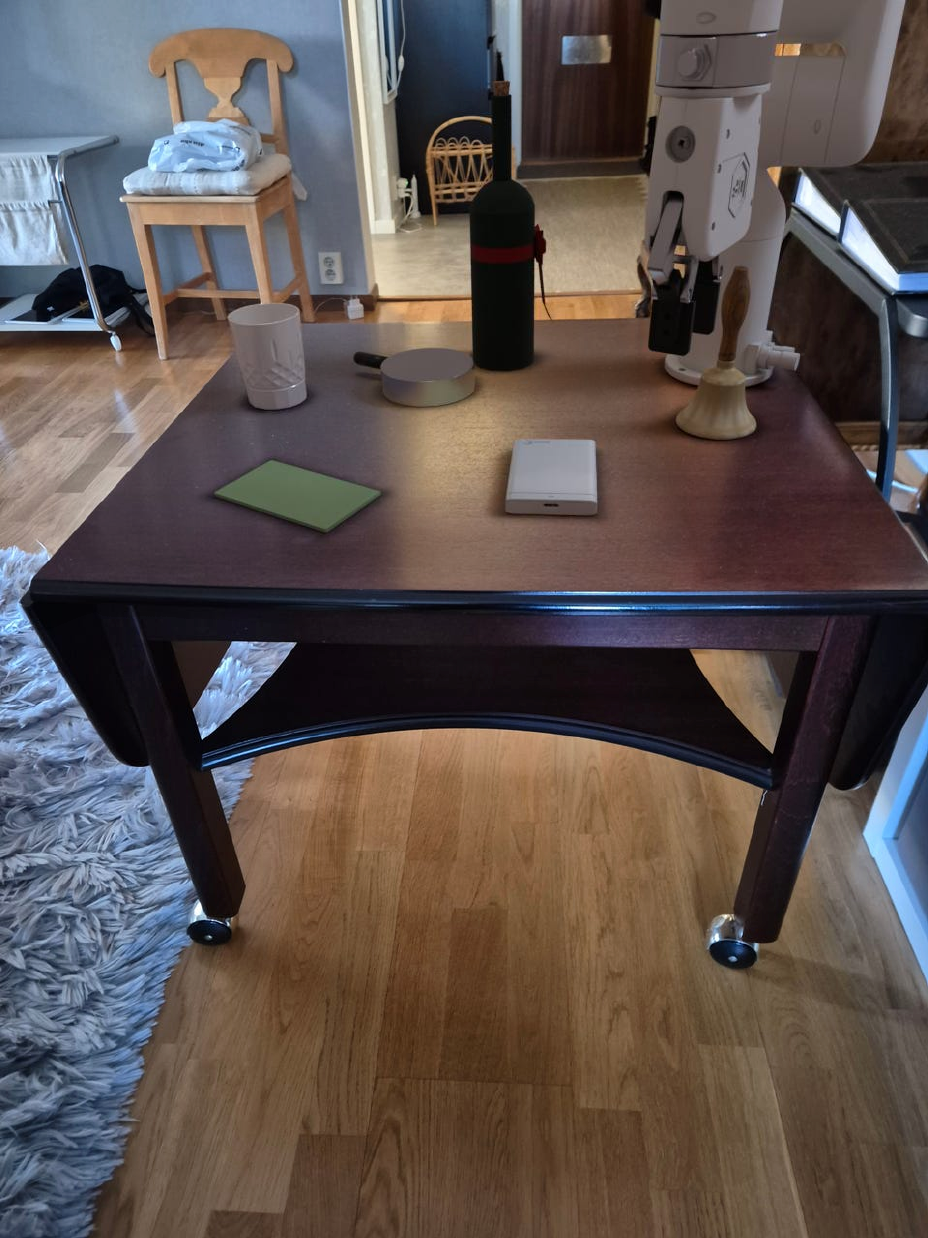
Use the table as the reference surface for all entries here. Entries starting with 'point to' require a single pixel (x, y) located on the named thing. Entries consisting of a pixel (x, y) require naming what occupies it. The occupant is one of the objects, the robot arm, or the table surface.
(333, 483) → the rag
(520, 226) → the wine bottle
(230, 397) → the table surface
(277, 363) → the white cup
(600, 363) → the table surface
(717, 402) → the hand bell
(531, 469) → the hard drive
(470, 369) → the pan
